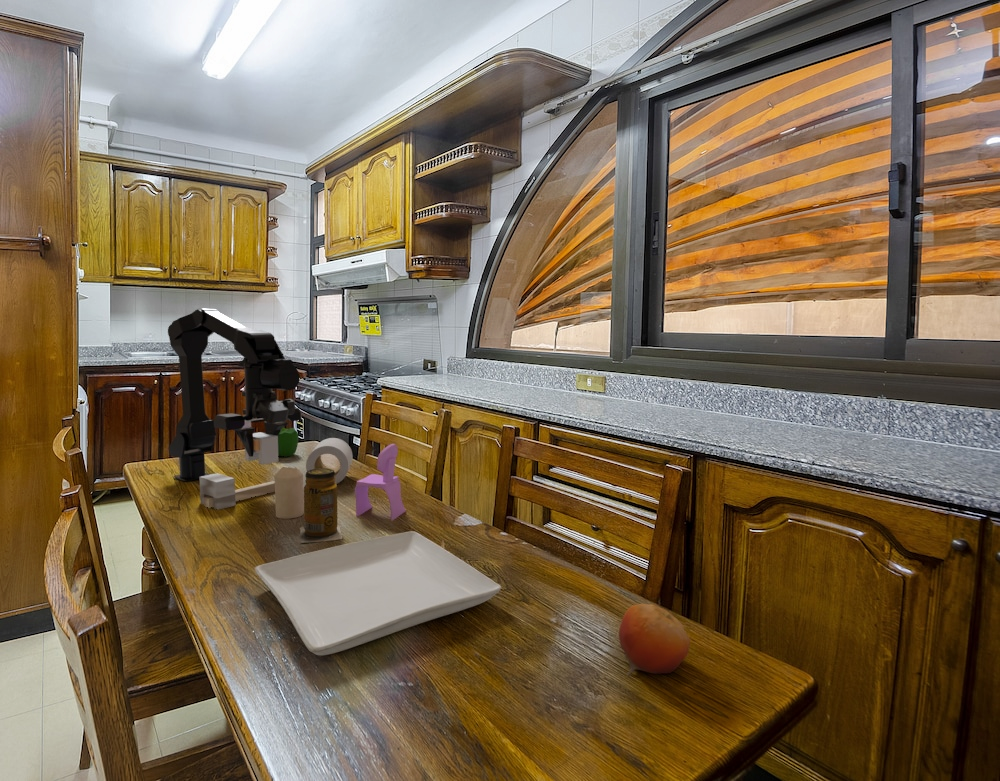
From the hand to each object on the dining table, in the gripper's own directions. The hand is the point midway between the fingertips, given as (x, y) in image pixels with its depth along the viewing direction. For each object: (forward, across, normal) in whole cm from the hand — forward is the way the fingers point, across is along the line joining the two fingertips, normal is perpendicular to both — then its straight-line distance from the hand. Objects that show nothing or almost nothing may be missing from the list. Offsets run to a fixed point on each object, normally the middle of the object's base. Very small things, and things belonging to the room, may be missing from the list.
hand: (260, 454), depth 132 cm
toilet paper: (+10, +17, -3) cm, 20 cm away
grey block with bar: (+9, -4, 0) cm, 10 cm away
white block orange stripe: (+2, 0, 0) cm, 2 cm away
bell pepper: (+10, +26, +30) cm, 41 cm away
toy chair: (+9, +7, -32) cm, 34 cm away
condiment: (+9, -8, -32) cm, 34 cm away
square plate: (+10, -19, -59) cm, 63 cm away
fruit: (+9, -11, -98) cm, 99 cm away
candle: (+9, -5, -18) cm, 21 cm away
